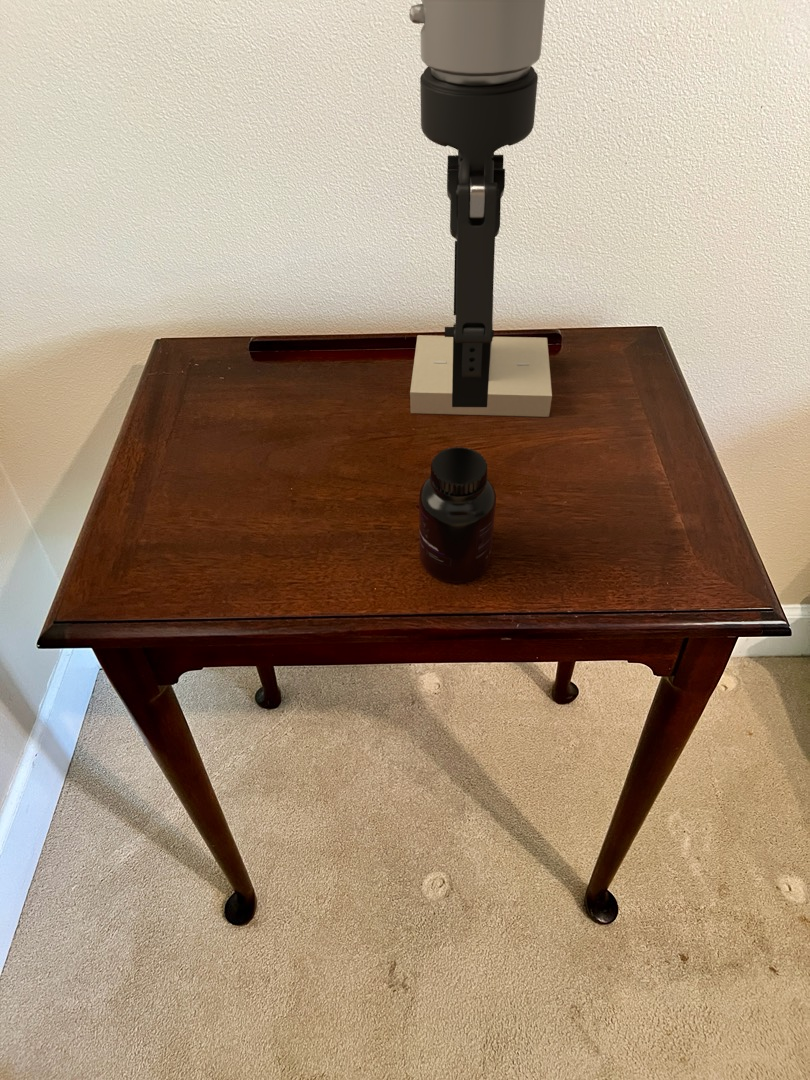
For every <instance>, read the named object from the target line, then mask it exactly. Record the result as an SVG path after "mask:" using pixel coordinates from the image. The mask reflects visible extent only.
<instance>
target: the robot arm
mask: <svg viewBox="0 0 810 1080" xmlns="http://www.w3.org/2000/svg"><path fill="white" fill-rule="evenodd" d="M420 1H421V3H418V4H414V5H411V6H410V9H409V14H408V15H409V20H410V21H411V23H412V24H416V25H417V24H422V27H421V29H420V39H419V40H420V59H421V61H422V62H423V64H425V65H426V66H427V67H426V68H425V69H424V71H423V73H421V75H420V77H419V83H420V84H419V88H420V89H419V90H420V91H419V92H420V93H419V95H420V129H421V130H422V133H423V135H424V136H425V137H426V138H427V139H428V140H430V142H432V143H435V144H436V145H438V146H439V145H440V146H441V147H444V148H446V147H450V148H453V149H455V150H457V154H452V155H451V154H449V155H447V169H446V196H447V197H448V199H449V201H450V204H449V205H450V207H449V232H450V236H451V237H452V238H454V239H455V241H454V263H453V264H454V265H453V266H454V270H453V316H455V323H454V324H453V326H444V336H445V337H453V379H452V407H487V400H488V383H489V366H490V348H491V341H492V339H493V338H494V337H495V330H494V328H493V329H492V313H493V314H494V279H495V253H496V252H495V250H496V247H495V246H496V237H497V236H498V235H499V232H500V228H501V208H502V207H501V204H502V203H501V202H502V197H503V196H504V191H505V188H506V187H505V186H506V168H504V157H505V156H504V154H495V152H497V151H498V150H500V149H501V148H503V147H506V146H508V147H511V146H513V145H516V144H518V143H520V142H522V141H523V140H525V139H527V138H528V136H529V135H530V134H531V133H532V131H533V129H534V126H535V117H536V116H535V115H536V106H537V105H536V103H537V94H538V93H537V92H538V82H539V81H538V79H539V76H538V73H537V72H536V70H535V68H534V67H533V65H535V64H536V63H537V62H538V61H539V60H540V58H541V54H542V45H543V35H544V34H543V33H544V32H543V31H544V21H545V10H546V9H545V8H546V0H420Z"/></svg>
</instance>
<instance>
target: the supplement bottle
mask: <svg viewBox="0 0 810 1080" xmlns="http://www.w3.org/2000/svg"><path fill="white" fill-rule="evenodd" d="M430 463H431V464H430V473H429V477H427V479H426V480H425V481H424V482H423V484H422V486H421V488H420V490H419V495H418V498H419V499H418V519H419V520H418V548H419V549H418V551H419V561H420V563H421V565H422V567H423V568H424V569H425V571H426V572H427V573H428V574H429V575H431V576H432V577H434V578H435V579H437V580H439V581H442V582H444V583H445V582H446V583H451V584H452V583H453V584H458V583H459V584H460V583H466V582H469V581H472V580H474V579H476V578H478V577H480V575H482V574H483V573H484V572H485V571H486V570H487V568H488V566H489V564H490V561H491V556H492V547H493V540H494V539H493V538H494V537H493V536H494V527H495V519H496V518H495V517H496V507H497V494H496V490H495V488H494V486H493V484H492V482H491V481H490V480H489V479H488V463H487V460H486V459H485V457H484V456H483V455H482V454H481V452H480V453H479V452H478V451H477V450H474V449H472V448H468V447H463V446H459V447H458V446H454V447H449V448H445V449H443V450H440V451H439V452H438V453H437V454H436V455H434V458H433V459H432V460H431V462H430Z"/></svg>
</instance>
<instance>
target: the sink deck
mask: <svg viewBox="0 0 810 1080" xmlns="http://www.w3.org/2000/svg"><path fill="white" fill-rule="evenodd" d="M550 365H551V364H550V356H549V342H548V337H536V336H535V337H531V336H529V337H528V336H494V338H493V339H492V347H491V363H490V379H489V383H488V400H487V407H452V379H453V337H445V335H430V334H429V335H423V334H422V335H420V334H418V335H417V336H416V344H415V351H414V359H413V368H412V374H411V375H412V376H411V381H410V382H411V383H410V388H409V389H410V391H409V398H410V405H409V406H410V407H409V408H410V414H423V415H424V414H429V415H466V416H497V417H498V416H501V417H502V416H503V417H536V418H538V417H540V418H549V417H550V414H551V407H552V399H553V392H552V391H553V389H552V377H551V369H550V368H551V366H550Z"/></svg>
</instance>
